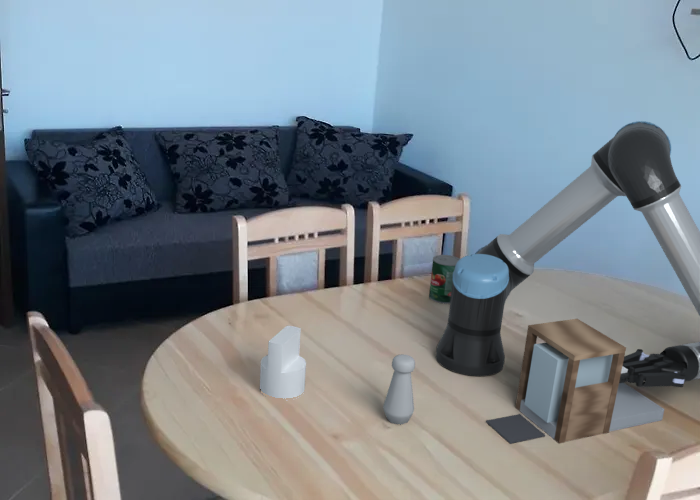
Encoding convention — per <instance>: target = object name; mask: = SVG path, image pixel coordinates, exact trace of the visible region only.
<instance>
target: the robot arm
mask: <svg viewBox="0 0 700 500" xmlns="http://www.w3.org/2000/svg"><path fill="white" fill-rule="evenodd" d="M671 153H672V144H671V139H670V137H669V136H668V135H667V133H666V132H665V130H664V129H662V128H661V127H660V126H659V125H657V124H656V123H652V122H650V121H643V120H641V121H639V120H638V121H637V120H636V121H633V122H629V123H627V124H625V125H623V126H622V127H620V129H619V130H617V132H616V134H614V136H613V137H612V138H611V139H610V140H609V141H608V142H606V143H605V144H604V145H602V146H601V147H600V148H599V149H598V150H597V151H596V152H595V153H593V154H592V156H591V162H590V163H591V165H590V166H589V167H588V168H587V169H585V170H584V171H583V172H582V173H581V174H580V175H578V176H577V177H576V178H575V179H574V180H572V181H571V182H570V183H569V184H568V185H566V187H564V188H562V189H561V190H560V191H559V192H558V193H557V194H556V195H555V196H554V197H553V198H551V199H550V200H549V201H548V202H546V203H545V204H544V205H543V206H542V207H541V208H540V209H538V210H537V211H535V213H533V214H532V215H531V216H530V217H529V218H528V219H526V220H525V221H524V222H523V223H522V224H520V225H519V226H518V227H516V229H514V231H512V232H511V233H510V234H504V233H500V234H498V235H497V236H495V238H494V239H493V240H491V241H490V242H489V243H488V244H486V245H484V246H483V247H481V248H479V249H478V250H477V251H476V252H475V253H473V254H471V255H465V256H463V257H461V258H460V260H459V261H458V262H457V263H456V265H455V270H454V272H453V279H452V280H453V283H452V292H451V300H450V304H449V308H448V319H447V325H446V327H445V329H444V332H443V333H442V335H441V337H440V340H439V341H438V344H437V346H436V351H435V353H436V354H435V359H436V361H437V362H438V364H439V365H441V366H442V367H444V368H445V369H447V370H449V371H451V372H453V373H456V374H461V375H465V376H472V377H487V376H492V375H495V374H498V373H500V372H501V371H502V370H503V368H504V364H505V358H506V357H505V351H504V346H503V339H502V336H501V330H502V323H503V317H504V309H505V304H506V301H507V299H508V298H509V296H510V294H511V292H512V291H513V290H515V288H517V287H518V286H519V285H520V284H522V283H523V282H524V281H526V279H528V278H529V277H530V276H531V275H533V274H534V271H535V263H537V262H538V261H540V260H541V259H542V258H543V257H544V256H545V255H547V254H548V253H549V252H551V250H553V249H554V248H555V247H556V246H558V245H559V244H560V243H561V242H563V241H564V240H565V239H566V238H568V237H569V236H570V235H572V234H573V233H574V232H576V230H577V229H579V228H580V227H582V226H583V224H585V223H587V222H588V221H589V220H590V219H591V218H593V216H595V215H597V214H598V212H601V210H603V209H604V208H605V207H606V206H608V205H609V204H610V203H611V202H612V201H614V200H615V199H616V198H617V197H626V198H627V200H628V201H629V204H630V205H631V207H632V208H633V210H635V211H637V212H641V214H642V215H643V217H644V219H645V221H646V223H647V225H648V227H650V230H651V232H652V233H653V235H654V237H655V239H656V241H657V242H658V244H659V245H660V247H661V249H662V251H663V253H664V255H665V257H666V258H667V261H668V262H669V264H670V266H671V267H672V270H674V273H675V275H676V276H677V278H678V280H679V281H680V283H681V285H682V286H683V289H684V291H685V293H686V294H687V296H688V298H689V299H690V302H691V304H692V305H693V306H694V309H695V310H696V312H697V314H698V316H699V317H700V230H699V227H698V225H697V224H696V222H695V220H694V219H693V217H692V215H691V213H690V211H689V209H688V207H687V205H686V204H685V202H684V200H683V198H682V197H681V195H680V191H681V189H682V185H681V183H680V180H679V179H678V177H677V175H676V173H675V170H674V167H673V164H672V160H671ZM699 379H700V341H697V342H691V343H683V344H679V345H673V346H669V347H666V348H665V349H663V350H662V351H661V352H660V353H650V354H646V353H645V352H644V350H643V349H641V348H638V349H636V350H635V352H632V353H629V354H627V355H625V356H624V361H623V366H622V371H621V375H620V380H619V383H629V384H634V383H635V386H636V387H637V388H645V387H646V388H648V387H649V388H651V387H653V388H654V387H677V388H683V387H684V383H685V382H689V381H694V380H699Z"/></svg>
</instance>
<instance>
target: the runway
mask: <svg viewBox="0 0 700 500" xmlns="http://www.w3.org/2000/svg"><path fill="white" fill-rule="evenodd" d="M524 404H525V399H523V400H521V405H520V411H519V412H520V413H522V414H523V415H524V417H525V418H527V419H528V420H530V421H531V422H532V423H534V424H535V425H536V427H538V428H539V429H541V430H543V431H542V432H545V433H546V434H547V435H548V436H550V437H551V438H552V439H553V440H554V438H555V432H556V426H557V421H553V422H548V423H547V422H545V421H544V420H543V419H542V418H541V417H539V416H538V415H537V414H536V413H534V412H533V411H532V410H531V409H529V408H528V407H527V406H526V405H524ZM664 412H665V408H663V407H662V406H660V405H659V404H658V403H656V402H654V401H653V400H651V399H650V398H648V397H647V396H645V395H643V394H642V393H640V392H639V391H637V390H636V389H634V388H633V387H631V386H629V385H628V384H626V382H624V383H619V385H618V390H617V395H616V400H615V405H614V410H613V415H612V420H611V424H610V429H609V433H610V432H613V431H614V432H615V431H618V430H624V429H628V428H632V427H637V426H641V425H646V424H651V423H656V422H659V421H660V422H661V421H663V418H664Z"/></svg>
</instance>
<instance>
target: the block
mask: <svg viewBox="0 0 700 500" xmlns="http://www.w3.org/2000/svg"><path fill="white" fill-rule="evenodd" d="M612 358H613V355H607V356H601V357H595V358H588V359H582V360H580V363H579V369H578V374H577V380H576V385H575V388H576V387H582V386H587V385H593V384H598V383H604V382H608V378H609V373H610V368H611V363H612ZM568 359H569V357H567V356H566V355H564V354H563V353H561V352H560V351H558V350H557V349H555V348H554V347H552V346H551V345H549V344H548V343H546V342H541V343H536V344H534V349H533V355H532V361H531V367H530V374H529V380H528V386H527V392H526V398H525V404H524V405H526V406H527V407H528V408H529V409H531V410H532V411H533V412H534V413H536V414H537V415H538V416H539V417H541V418H542V419H543V420H544V421H545V422H547V423H548V422H553V421H558V415H559V410H560V404H561V399H562V393H563V387H564V382H565V376H566V371H567V365H568Z"/></svg>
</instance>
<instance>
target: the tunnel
mask: <svg viewBox="0 0 700 500" xmlns="http://www.w3.org/2000/svg"><path fill="white" fill-rule="evenodd" d="M538 338H539V339H541V340H542V341H543V342H544V343H548V344H549V345H551V346H552V347H554V348H555V349H557V350H558V351H560V352H561V353H563V354H564V355H566V356H567V357H569V359H568V365H567V371H566V376H565V382H564V387H563V393H562V399H561V404H560V410H559V415H558V421H557V426H556V432H555V438H554V439H553V440H554V441H555V442H557V443H558V444H562V443H563V444H564V443H565V442H569V441H574V440H579V439H584V438H589V437H595V436H598V435H604V434H608V433H610V432H609V429H610V424H611V420H612V415H613V410H614V405H615V400H616V395H617V390H618V385H619V380H620V375H621V371H622V366H623V361H624V356H626V350H627V347H626V346H625V345H622V344H621V343H619V342H618V341H616V340H614V339H612V337H609V336H608V335H606V334H604V333H602V332H600V331H599V330H597V329H595V328H594V327H592V326H590V325H589V324H587V322H584V321H582V320H581V319H579V318H572V319H571V318H570V319H566V320H564V319H563V320H557V321H549V322H542V323H535V324H534V323H533V324H528V325H527V331H526V338H525V343H524V351H523V356H522V362H521V363H522V364H521V369H520V376H519V382H518V388H517V396H516V399H515V400H516V401H515V407H514V408H515V409H517V410H518V411H519V412H520V405H521V400H523V399H525V398H526V392H527V386H528V380H529V374H530V367H531V361H532V355H533V349H534V344H537V339H538ZM607 355H613V358H612V363H611V368H610V373H609V378H608V382H604V383H598V384H593V385H587V386H582V387H576V388H575V385H576V380H577V374H578V369H579V363H580V360H582V359H588V358H595V357H601V356H607Z"/></svg>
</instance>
